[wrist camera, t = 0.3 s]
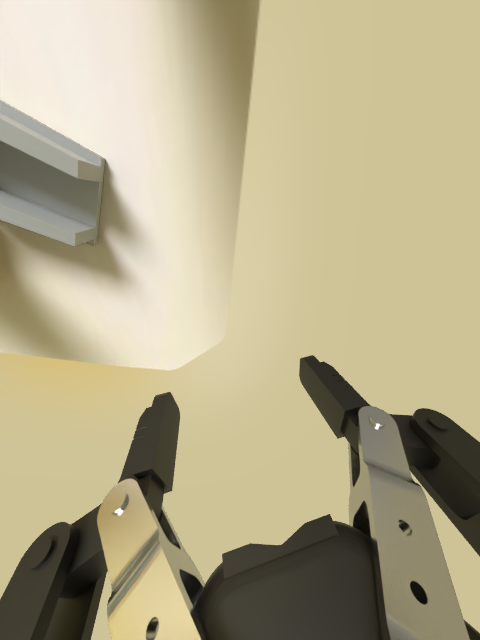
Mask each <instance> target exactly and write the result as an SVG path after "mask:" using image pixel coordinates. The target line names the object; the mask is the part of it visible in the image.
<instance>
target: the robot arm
mask: <svg viewBox="0 0 480 640" xmlns="http://www.w3.org/2000/svg"><path fill="white" fill-rule="evenodd" d="M299 376H300V380H301V383H302V385H303V386H304V388H305V389H306V391H307V393H308V394H309V396H310V397H311V398H312V400H313V402H314V403H315V405H316V406H317V408H318V409H319V411H320V412H321V414H322V415H323V417H324V418H325V420H326V422H327V423H328V425H329V426H330V428H331V429H332V431H333V432H334V434H335V435H336V436H337V438H341V437H346V439H347V440H348V442H349V444H348V449H349V469H350V497H349V525H347V524H345V523H341V522H337V521H333V520H332V518H331V516H330V514H329V515H326V516H323V517H321V518H318V519H315V520H312V521H310V522H307V523H305V524H304V525H302V527H300V528H299V529H298V530H297V531H296V532H295V533H294V534H293V535H292V536H291V537H290V538H289V539H288V540H287V541H286V542H284V543H283V544H282V545H262V544H248V545H245V546H242V547H240V548H237V549H235V550H232V551H229V552H226V553H224V554H222V557H223V562H222V563H221V564H220V565H219V566H218V567H217V568H216V570H215V571H214V572H213V573H212V575H211V576H210V577H209V579H208V580H207V582H206V584H205V583H204V581H203V579H202V577H201V575H200V573H199V572H198V570H197V568H196V566H195V564H194V562H193V561H192V559H191V558H190V556H189V555H188V554H187V552H186V551H185V549H184V548H183V546H182V543H181V542H180V539H179V538H178V536H177V534H176V532H175V530H174V528H173V526H172V524H171V522H170V520H169V518H168V516H167V514H166V512H165V510H164V508H163V506H162V502H163V494H164V493H167V492H170V491H172V486H173V476H174V467H175V458H176V449H177V440H178V431H179V421H180V412H179V408H178V406H177V404H176V402H175V400H174V398H173V396H172V394H171V393H170V392H167V393H163V394H160V395H156V396H155V397H154V400H153V404H152V407H149V408H146V410H145V411H144V413H143V414H142V416H141V417H140V419H139V422H138V425H137V428H136V429H137V430H136V431H135V434H134V437H133V438H134V440H133V441H132V444H131V447H130V450H129V453H128V456H127V459H126V462H125V465H124V469H123V471H122V475H121V478H120V480H119V482H118V484H117V485H116V486H114V487H113V488H112V490H111V491H110V492H109V493H108V494H107V496H106V497H105V499H104V500H103V502H102V504H100V505H99V506H98V507H96V508H95V509H94V510H92V511H91V512H89V513H88V514H86V515H85V516H83V517H82V518H80V519H79V520H77V521H76V522H75V523H73V524H71V525H70V524H68V523H65V522H60V523H57V524H55V525H53V526H51V527H49V528H48V529H47V530H45V531H44V532H43V533H42V534H41V535H40V536H39V537H38V538H37V539H36V540H35V541H34V542H33V543H32V545H31V546H30V547H29V548H28V550H27V551H26V553H25V554H24V556H23V557H22V559H21V561H20V562H19V564H18V566H17V568H16V570H15V572H14V574H13V576H12V578H11V580H10V582H9V584H8V586H7V588H6V590H5V592H4V594H3V596H2V597H1V599H0V640H91V636H92V631H93V627H94V623H95V619H96V615H97V610H98V607H99V602H100V598H101V594H102V590H103V586H104V581H105V577H106V573H107V571H108V573H109V577H110V581H111V586H112V594H111V597H110V598H109V600H108V605H107V615H108V622H109V628H110V633H111V638H112V640H480V633H479V632H478V631H476V630H475V629H474V628H473V627H472V626H471V625H470V624H468V623H467V622H466V621H465V620H464V619H463V616H462V613H461V609H460V606H459V603H458V600H457V597H456V593H455V590H454V587H453V583H452V580H451V577H450V574H449V570H448V567H447V564H446V560H445V558H444V554H443V551H442V547H441V545H440V541H439V538H438V534H437V531H436V528H435V525H434V521H433V518H432V515H431V512H430V508H429V505H428V502H427V499H426V496H425V494H424V491H423V490H422V488H421V486H420V485H419V484H417V483H415V482H414V481H413V479H412V477H411V473H410V471H411V472H412V474H413V475H414V476H415V477H416V479H417V480H418V481H419V482H420V483H421V485H422V486H423V487H424V488H425V489H426V491H427V492H428V493H429V495H430V496H431V497H432V498H433V499H434V501H435V502H436V503H437V504H438V506H439V507H440V508H441V509H442V510H443V512H444V513H445V514H446V515H447V517H448V518H449V519H450V520H451V522H452V523H453V524H454V525H455V527H456V528H457V529H458V530H459V531H460V533H461V534H462V535H463V536H464V538H465V539H466V540H467V541H468V542H469V544H470V545H471V546H472V547H473V549H474V550H475V551H476V552H477V554H478V555H479V556H480V442H478V441H477V440H476V439H475V438H473V437H472V436H471V435H470V434H468V433H467V432H466V431H465V430H464V429H462V428H461V427H460V426H459V425H457V424H456V423H455V422H454V421H452V420H451V419H450V418H448V417H447V416H445V415H443V414H441V413H439V412H437V411H434V410H430V409H424V408H422V409H418V410H416V412H415V413H414V414H413V416H410V415H392V414H388V413H386V412H385V411H383V410H381V409H379V408H377V407H373V406H370V405H369V404H368V403H367V402H366V401H365V400H364V399H363V398H362V397H361V396H360V395H359V394H358V393H357V392H356V391H355V390H354V388H353V387H352V386H351V385H350V384H349V383H348V382H347V381H345V380H344V378H343V377H342V376H341V375H339V373H338V372H337V371H336V370H335V369H334V368H333V367H332V366H330V365H329V364H327V363H325V362H319V361H318V360H317V359H316V357H314V356H313V355H312V356H308V357H304V358H301V359H300V373H299Z"/></svg>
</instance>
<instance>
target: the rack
mask: <svg viewBox="0 0 480 640" xmlns="http://www.w3.org/2000/svg"><path fill="white" fill-rule="evenodd" d="M104 167H105V158H103V157H101V156H99V155H97V154H96V153H94V152H92V151H90V150H89V149H87V148H85V147H83V146H81V145H80V144H78V143H76V142H74V141H73V140H71V139H69V138H67V137H65V136H64V135H62V134H60V133H58V132H57V131H55V130H53V129H51V128H49V127H48V126H46V125H44V124H42V123H41V122H39V121H37V120H35V119H33V118H32V117H30V116H28V115H26V114H25V113H23V112H21V111H19V110H17V109H16V108H14V107H12V106H10V105H9V104H7V103H5V102H3V101H1V100H0V220H2V221H5V222H8V223H11V224H13V225H16V226H19V227H22V228H24V229H27V230H30V231H33V232H35V233H38V234H41V235H44V236H47V237H49V238H52V239H55V240H58V241H60V242H63V243H66V244H69V245H71V246H74V247H75V246H78V245H80V244H83V243H85V242H86V243H88V244H91V245H96V244H97V240H98V229H99V219H100V209H101V198H102V188H103V178H104Z"/></svg>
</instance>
